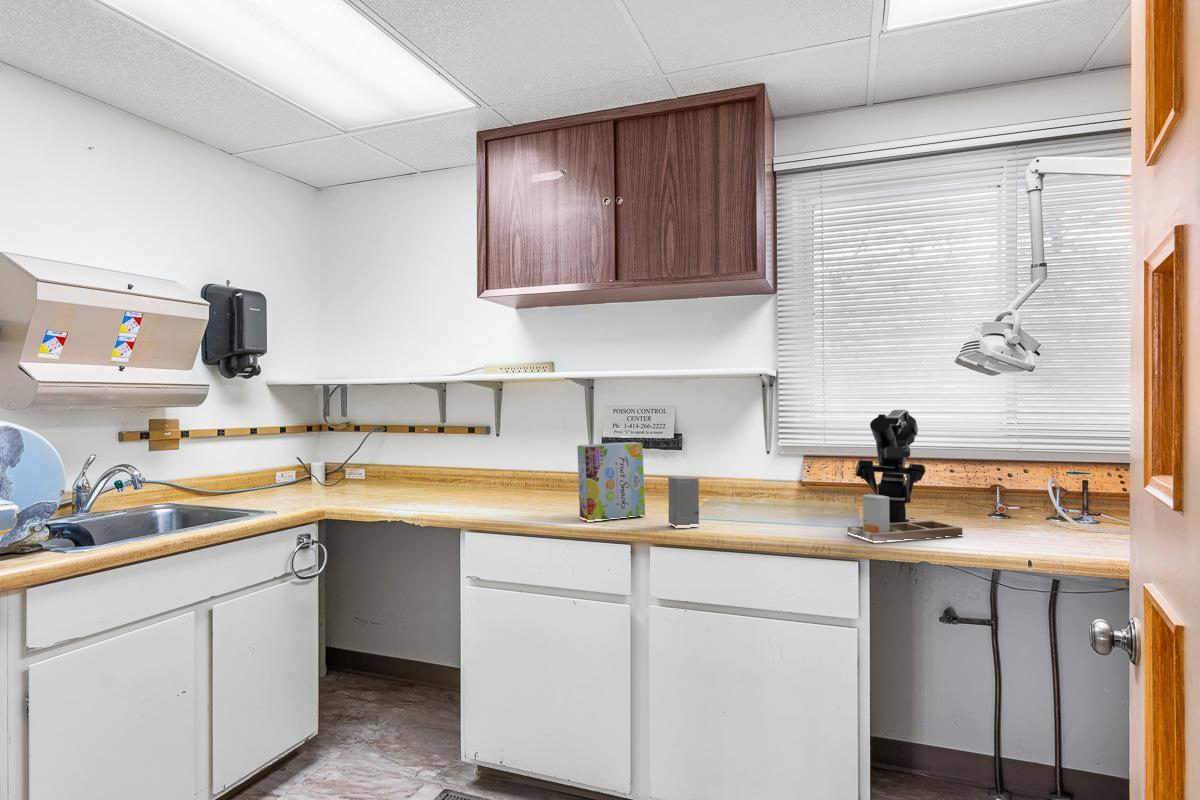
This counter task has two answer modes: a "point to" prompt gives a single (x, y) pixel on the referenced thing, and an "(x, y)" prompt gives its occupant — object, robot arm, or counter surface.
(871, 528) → the skincare box
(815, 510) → the counter surface
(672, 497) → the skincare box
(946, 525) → the brown compartment tray
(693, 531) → the counter surface
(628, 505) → the snack box
